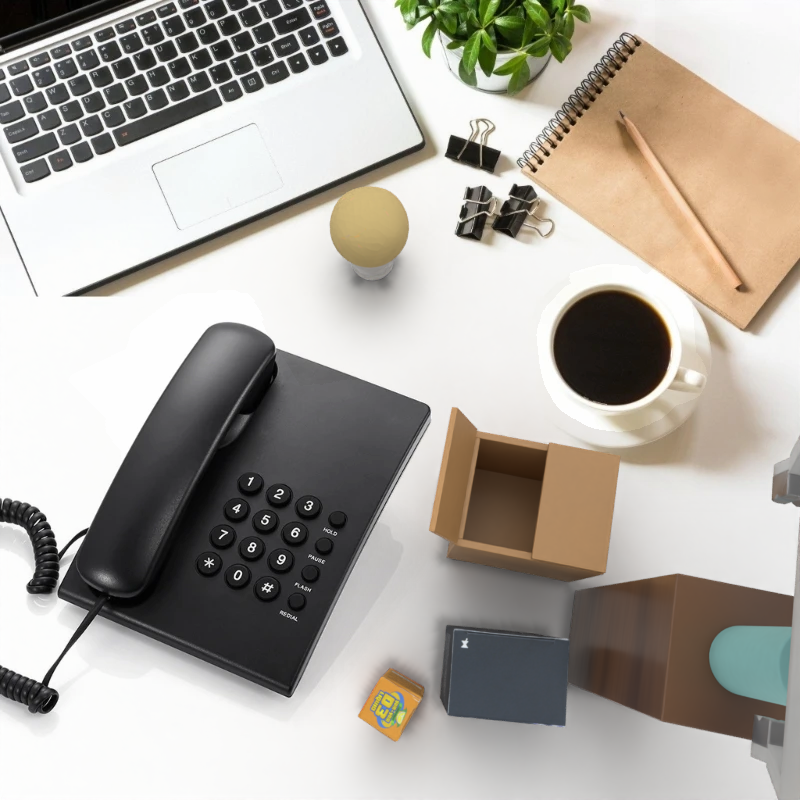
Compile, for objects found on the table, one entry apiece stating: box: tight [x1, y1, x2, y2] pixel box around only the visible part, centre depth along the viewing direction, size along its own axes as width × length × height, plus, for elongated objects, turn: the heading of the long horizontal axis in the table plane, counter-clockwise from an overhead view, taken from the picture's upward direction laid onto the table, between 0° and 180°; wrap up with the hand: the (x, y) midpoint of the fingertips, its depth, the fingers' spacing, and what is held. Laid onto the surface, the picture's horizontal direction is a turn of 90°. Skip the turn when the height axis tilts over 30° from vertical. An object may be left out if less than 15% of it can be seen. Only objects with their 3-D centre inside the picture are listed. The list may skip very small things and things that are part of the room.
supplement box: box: [357, 667, 425, 743], centre depth 57 cm, size 3×3×10 cm
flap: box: [428, 406, 478, 544], centre depth 52 cm, size 5×8×1 cm
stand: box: [568, 572, 794, 741], centre depth 51 cm, size 7×7×25 cm
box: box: [439, 624, 570, 728], centre depth 57 cm, size 8×6×11 cm
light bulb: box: [329, 185, 410, 281], centre depth 66 cm, size 6×6×10 cm
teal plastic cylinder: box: [709, 626, 792, 706], centre depth 34 cm, size 3×3×10 cm
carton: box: [446, 430, 622, 583], centre depth 59 cm, size 10×8×12 cm
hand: (782, 608), depth 31 cm, fingers open, 8 cm apart
